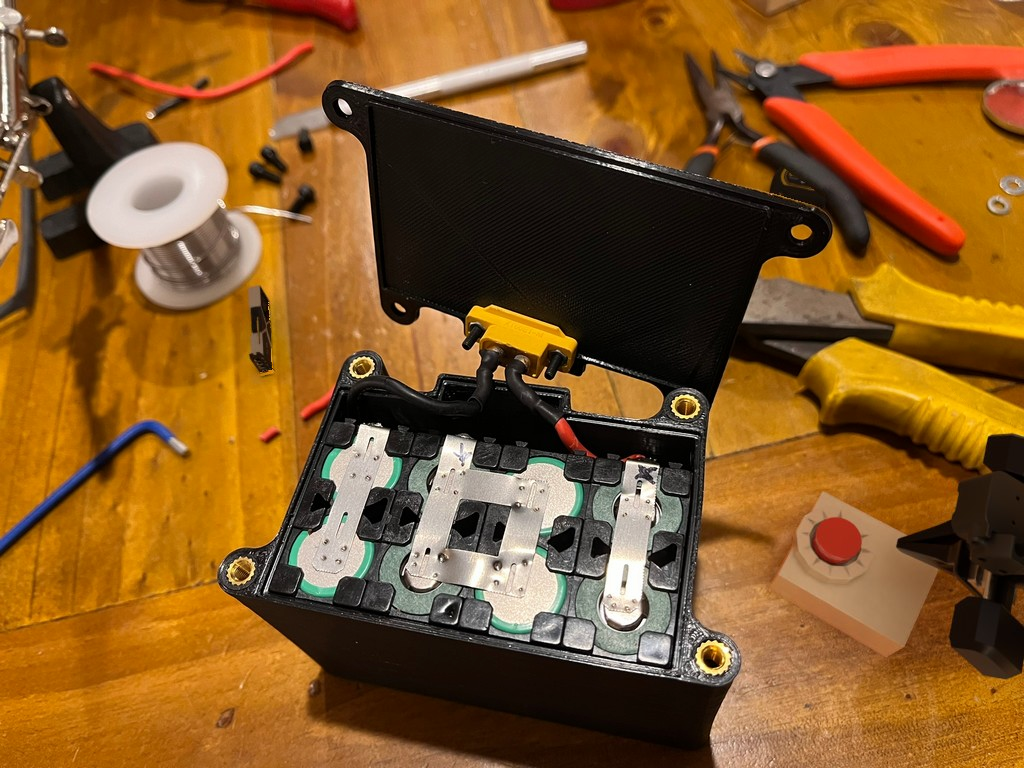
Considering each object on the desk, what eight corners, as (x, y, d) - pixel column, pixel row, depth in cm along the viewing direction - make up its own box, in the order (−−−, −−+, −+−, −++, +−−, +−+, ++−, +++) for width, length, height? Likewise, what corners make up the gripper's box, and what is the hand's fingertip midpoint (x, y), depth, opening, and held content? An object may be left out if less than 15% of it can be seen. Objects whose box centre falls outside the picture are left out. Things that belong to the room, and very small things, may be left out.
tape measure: (765, 216, 101) (771, 196, 98) (769, 177, 104) (775, 156, 101) (820, 221, 99) (827, 201, 96) (823, 182, 103) (830, 161, 99)
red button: (863, 537, 73) (869, 531, 71) (846, 572, 71) (851, 567, 70) (822, 515, 74) (827, 509, 73) (804, 549, 73) (809, 543, 71)
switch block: (925, 570, 77) (953, 549, 71) (886, 657, 73) (911, 643, 67) (806, 506, 81) (822, 481, 75) (763, 586, 78) (777, 566, 72)
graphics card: (275, 375, 97) (271, 354, 93) (253, 377, 97) (248, 355, 93) (270, 302, 103) (266, 278, 99) (250, 303, 102) (245, 279, 98)
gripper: (1078, 384, 56) (873, 406, 68) (1044, 629, 48) (820, 602, 61) (1139, 465, 60) (936, 472, 73) (1116, 701, 52) (894, 662, 65)
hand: (898, 545), depth 68 cm, fingers closed
